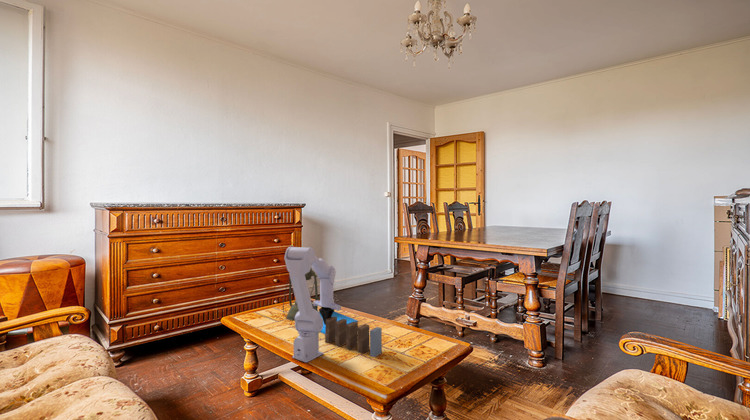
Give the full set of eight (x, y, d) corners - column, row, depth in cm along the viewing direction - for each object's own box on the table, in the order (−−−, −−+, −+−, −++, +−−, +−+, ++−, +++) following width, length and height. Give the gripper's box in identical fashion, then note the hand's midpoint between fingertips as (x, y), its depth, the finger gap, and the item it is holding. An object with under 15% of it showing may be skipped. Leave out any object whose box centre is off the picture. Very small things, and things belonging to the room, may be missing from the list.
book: (328, 309, 188) (358, 319, 169) (329, 317, 188) (358, 328, 169) (300, 315, 177) (328, 328, 158) (300, 324, 177) (328, 337, 158)
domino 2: (346, 342, 151) (346, 319, 151) (339, 346, 147) (338, 322, 147) (343, 341, 152) (343, 318, 152) (335, 345, 148) (335, 321, 148)
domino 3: (357, 346, 147) (357, 322, 147) (350, 350, 143) (350, 325, 143) (354, 344, 149) (353, 321, 148) (346, 349, 144) (346, 324, 144)
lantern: (328, 314, 190) (327, 258, 189) (305, 323, 175) (305, 263, 175) (300, 308, 201) (299, 256, 200) (276, 317, 186) (275, 260, 185)
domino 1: (336, 339, 154) (337, 317, 154) (328, 343, 150) (329, 320, 150) (332, 338, 156) (333, 316, 155) (324, 342, 151) (325, 319, 151)
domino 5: (381, 352, 140) (381, 327, 140) (374, 357, 136) (374, 331, 136) (377, 351, 142) (377, 326, 141) (370, 356, 138) (369, 330, 137)
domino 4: (369, 349, 144) (369, 325, 144) (362, 353, 140) (361, 328, 140) (365, 348, 145) (365, 324, 145) (358, 352, 141) (357, 327, 141)
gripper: (345, 293, 153) (345, 324, 153) (321, 289, 161) (321, 318, 161) (334, 297, 147) (334, 329, 147) (309, 292, 155) (310, 323, 156)
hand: (327, 324), depth 154 cm, fingers closed
